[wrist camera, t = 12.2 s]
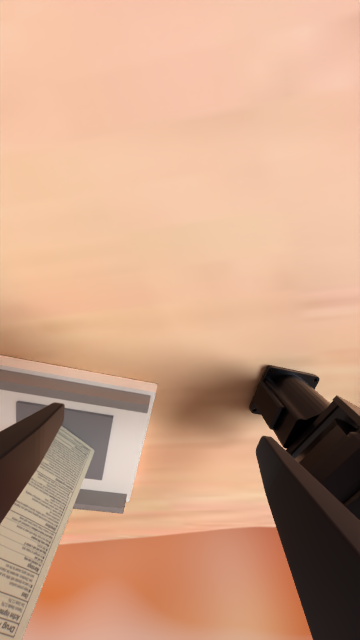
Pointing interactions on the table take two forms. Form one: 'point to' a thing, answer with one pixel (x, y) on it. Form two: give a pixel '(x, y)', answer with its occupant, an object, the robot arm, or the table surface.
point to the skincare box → (38, 529)
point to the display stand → (86, 421)
